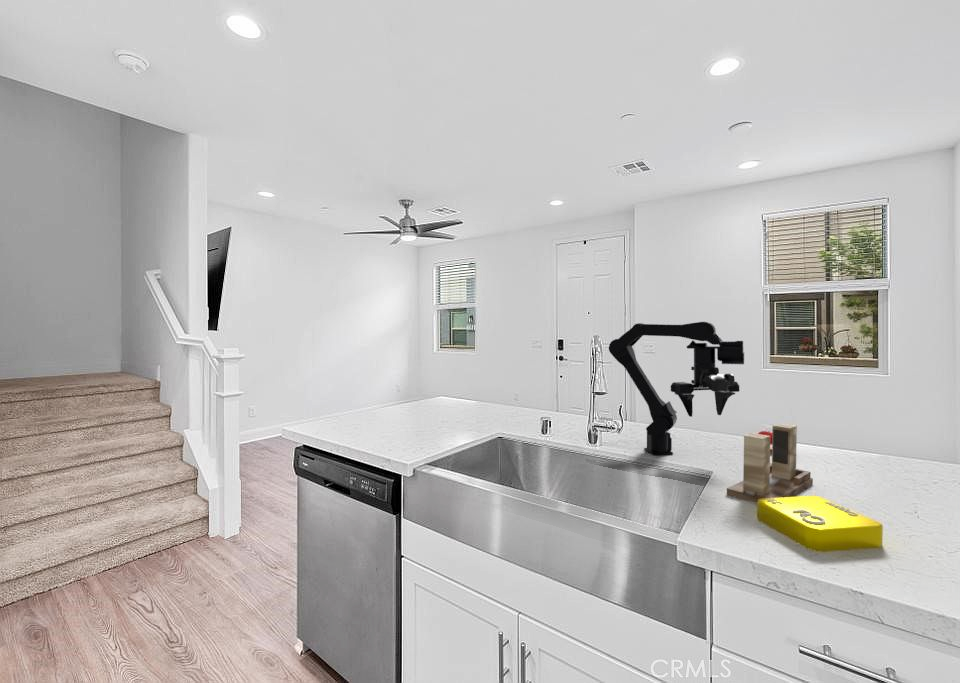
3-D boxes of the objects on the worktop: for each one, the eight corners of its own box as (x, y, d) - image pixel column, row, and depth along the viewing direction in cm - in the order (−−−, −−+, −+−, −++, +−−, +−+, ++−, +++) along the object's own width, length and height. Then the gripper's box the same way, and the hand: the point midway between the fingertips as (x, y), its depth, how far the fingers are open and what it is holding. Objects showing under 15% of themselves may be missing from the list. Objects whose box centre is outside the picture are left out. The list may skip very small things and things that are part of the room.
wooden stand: (774, 508, 98) (775, 442, 97) (726, 494, 106) (727, 433, 105) (812, 484, 112) (813, 426, 112) (768, 473, 120) (769, 420, 120)
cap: (754, 441, 141) (773, 433, 138) (752, 431, 146) (770, 423, 143) (769, 460, 142) (788, 453, 138) (766, 450, 147) (785, 443, 144)
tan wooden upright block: (778, 472, 117) (778, 423, 116) (795, 476, 113) (796, 425, 113) (770, 476, 114) (771, 425, 113) (788, 480, 110) (789, 428, 110)
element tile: (888, 549, 81) (889, 522, 80) (813, 554, 79) (814, 527, 79) (816, 514, 96) (817, 492, 95) (752, 518, 94) (752, 495, 94)
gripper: (691, 366, 124) (691, 422, 125) (752, 364, 126) (753, 419, 127) (669, 363, 135) (669, 415, 136) (726, 362, 137) (726, 412, 138)
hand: (704, 415), depth 134 cm, fingers open, 9 cm apart
